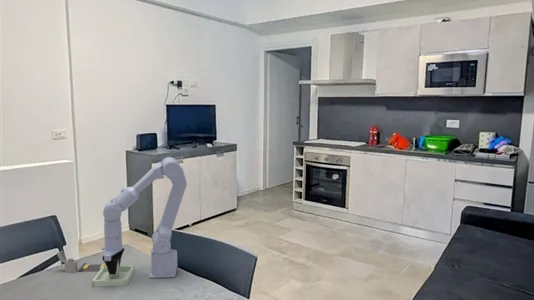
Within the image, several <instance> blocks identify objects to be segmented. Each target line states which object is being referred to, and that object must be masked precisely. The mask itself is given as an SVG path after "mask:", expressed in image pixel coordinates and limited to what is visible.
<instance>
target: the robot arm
mask: <svg viewBox="0 0 534 300" xmlns="http://www.w3.org/2000/svg"><path fill="white" fill-rule="evenodd" d="M165 177H166V178H167V179H169V180H170V182H171V189H170V191H169V192H170V193H169V195H168V198H167V201H166V204H165V207H164V210H163V212H162V213H163V214H162V216H161V219H160V222H159V224H158V226H157V229H156V230H155V231H153V233H152V235H151V241H152V248H151V250H150V258H151V259H150V260H151V261H150V263H151V265H150V266H151V270H150V273H149V275H148V278H149V279H152V278H153V279H155V278H159V279H161V278H175V277H176V274H177V270H178V251H177V250H176V249H172V247H171V246H172V243H171V238H172V234H173V227H174V224H175V222H176V219H177V215H178V212H179V209H180V206H181V203H182V200H183V197H184V194H185V191H186V188H187V180H186V179H187V178H186V177H185V174H184V169H183V167H182V166H181V165H180V163H179V162H178V161H177V159H176V158H174V157H173V156H172V157H171V156H167V157H164V158H162V160H161V161H159V162H157V163H155V165H154V166H153V167H152V168H151V169H149V170H148V171H147V173H146V174H144V175H143V176H142V177H141V178H140V179H139V180H138V181H137V182H136V183H135V184H133V186H126V187H124V188H122V189H120V193H119V194H117V195H116V196H115V197H114V198H111V199H110V201H109V202H107V203H106V204H105V205H104V207H103V213H102V215H103V218H104V219H103V222H104V224H103V232H104V236H103V237H104V246H102V247H101V251H103V252H104V254H103V256H102V261H103V262H104V264H106V266H107V269H108V272H109V275H115V274H116V271H117V263H118V260H119V267H120V266H121V261H122V257H123V254H124V251H125V248H124V247H123V246H124V245H123V237H122V236H123V234H122V232H123V231H122V221H121V217H122V213H123V212H125V211H127V209H128V208H130V207H131V206H132V205H133V204H134V203H135V202H137V200H138V199H139V196H140V195H139V194H140V193H141V192H143V190H145V189H146V188H147V187H148V186H149V185H151V184H152V183H153V182H154V181H156V180H158V179H159V180H160V179H165Z"/></svg>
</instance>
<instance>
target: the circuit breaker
mask: <svg viewBox="0 0 534 300" xmlns="http://www.w3.org/2000/svg"><path fill="white" fill-rule="evenodd" d="M56 255H57V257H58V259H59V261H60V263H61V264H63V263H64V272H65V273H71V274H76V273H77V272H78V270H79V268H78V260H75V259H74V258H67V256H66V255H65V253H64V251H63V250H60V251H58V252H57V253H56Z"/></svg>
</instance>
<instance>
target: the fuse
mask: <svg viewBox="0 0 534 300" xmlns="http://www.w3.org/2000/svg"><path fill="white" fill-rule="evenodd" d="M118 276H119V260H118V263H117V271H116V274H115V275H109V278H117V277H118Z"/></svg>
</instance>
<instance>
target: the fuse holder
mask: <svg viewBox="0 0 534 300" xmlns="http://www.w3.org/2000/svg"><path fill="white" fill-rule="evenodd" d="M103 266H106V264H105V263H101V264H90V263H88V264H87V262H84V263H83V264H82V265H81V266H80V267H79V268H78V271H77V272H78V273H86V272H87V273H89V272H92V273H93V272H95V273H96V272H97V273H98V272H99V271H100V269H101V268H102V267H103Z"/></svg>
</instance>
